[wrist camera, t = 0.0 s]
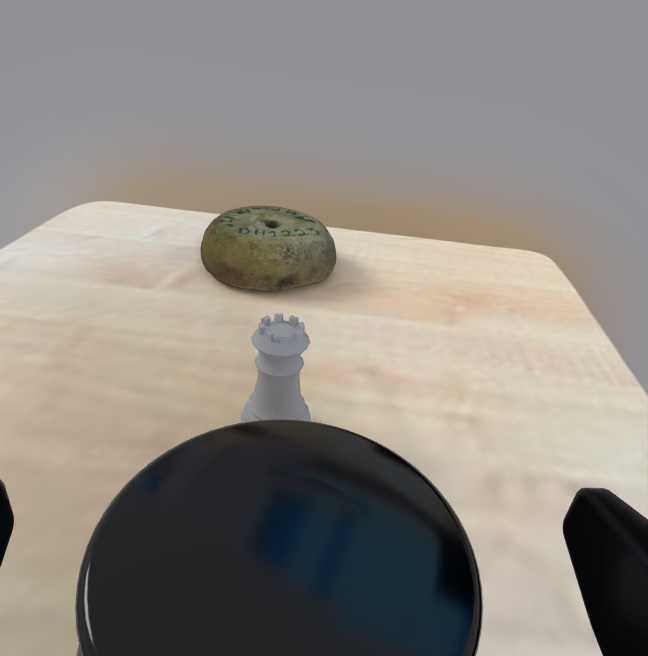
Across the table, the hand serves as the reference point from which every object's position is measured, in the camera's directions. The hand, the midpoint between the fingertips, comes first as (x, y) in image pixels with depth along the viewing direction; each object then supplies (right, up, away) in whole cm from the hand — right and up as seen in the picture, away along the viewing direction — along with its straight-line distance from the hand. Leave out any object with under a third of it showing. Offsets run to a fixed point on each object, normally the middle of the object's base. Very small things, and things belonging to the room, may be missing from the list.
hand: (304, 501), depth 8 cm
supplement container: (-2, -13, +11) cm, 17 cm away
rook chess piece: (-3, -4, +25) cm, 26 cm away
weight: (-5, +9, +46) cm, 48 cm away
